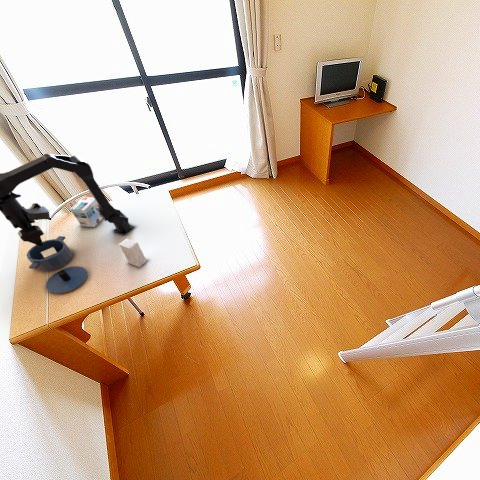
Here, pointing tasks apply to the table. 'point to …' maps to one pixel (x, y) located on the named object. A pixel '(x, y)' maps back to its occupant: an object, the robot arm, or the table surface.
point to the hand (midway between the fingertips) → (38, 239)
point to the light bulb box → (87, 212)
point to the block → (49, 253)
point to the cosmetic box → (132, 252)
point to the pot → (51, 262)
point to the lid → (66, 279)
